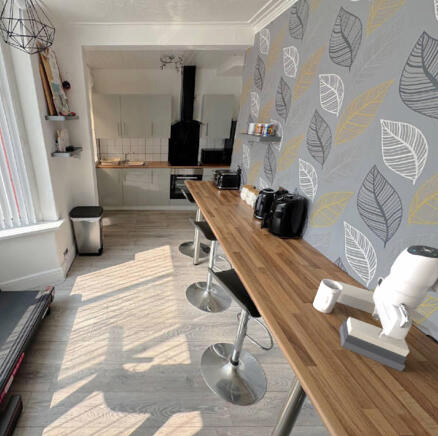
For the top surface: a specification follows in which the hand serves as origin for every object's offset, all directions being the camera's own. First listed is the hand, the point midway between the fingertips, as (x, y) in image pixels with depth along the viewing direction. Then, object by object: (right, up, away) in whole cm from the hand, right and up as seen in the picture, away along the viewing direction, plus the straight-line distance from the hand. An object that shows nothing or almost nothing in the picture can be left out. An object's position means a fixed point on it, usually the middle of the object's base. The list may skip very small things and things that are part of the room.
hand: (378, 328), depth 76 cm
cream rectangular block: (0, -4, +2) cm, 4 cm away
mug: (-4, -2, +19) cm, 20 cm away
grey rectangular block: (0, -9, +4) cm, 9 cm away
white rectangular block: (+13, 0, +24) cm, 28 cm away
